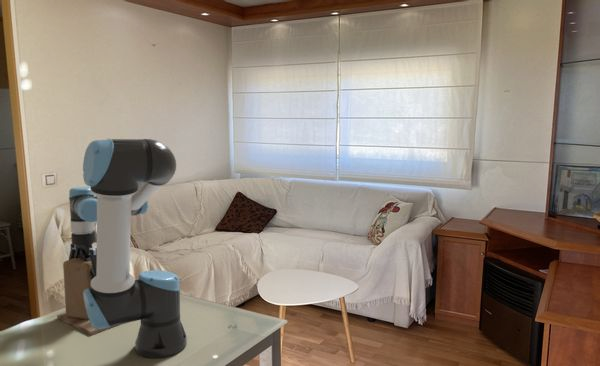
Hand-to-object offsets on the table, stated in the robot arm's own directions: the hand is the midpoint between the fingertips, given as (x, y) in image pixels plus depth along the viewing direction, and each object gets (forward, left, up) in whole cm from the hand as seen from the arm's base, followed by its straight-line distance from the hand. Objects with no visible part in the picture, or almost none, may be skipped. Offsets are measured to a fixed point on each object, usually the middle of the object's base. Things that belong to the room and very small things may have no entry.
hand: (86, 291), depth 161 cm
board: (-4, 0, -9) cm, 10 cm away
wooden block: (0, 0, -8) cm, 8 cm away
